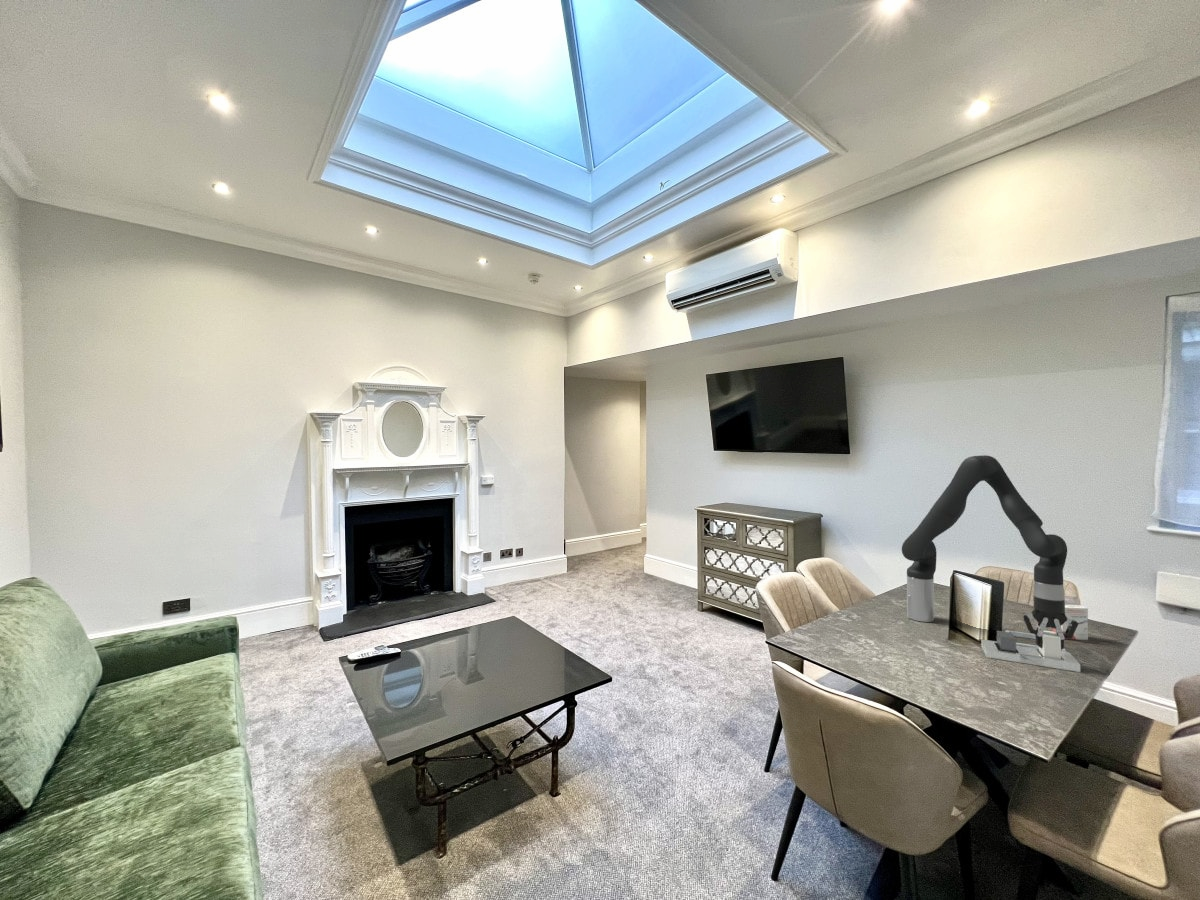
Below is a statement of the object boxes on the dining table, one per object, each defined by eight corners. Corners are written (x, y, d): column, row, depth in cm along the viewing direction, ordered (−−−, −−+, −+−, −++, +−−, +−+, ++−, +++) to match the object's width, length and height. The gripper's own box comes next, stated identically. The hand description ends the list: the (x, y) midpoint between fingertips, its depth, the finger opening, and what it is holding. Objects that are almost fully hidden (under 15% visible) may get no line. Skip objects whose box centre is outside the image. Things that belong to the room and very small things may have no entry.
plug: (1044, 657, 155) (1043, 635, 155) (1039, 650, 160) (1038, 629, 160) (1061, 660, 153) (1060, 638, 153) (1055, 653, 158) (1054, 631, 158)
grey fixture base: (986, 657, 161) (986, 636, 161) (981, 646, 170) (981, 626, 170) (1080, 672, 149) (1080, 649, 149) (1069, 659, 158) (1069, 638, 158)
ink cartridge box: (1063, 639, 174) (1062, 599, 174) (1051, 634, 179) (1051, 595, 179) (1089, 640, 173) (1088, 599, 173) (1076, 634, 178) (1076, 595, 178)
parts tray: (1014, 647, 168) (1014, 643, 168) (1005, 634, 180) (1005, 630, 180) (1066, 655, 162) (1066, 650, 162) (1053, 640, 173) (1053, 636, 173)
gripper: (1023, 596, 157) (1024, 648, 157) (1082, 602, 150) (1083, 657, 150) (1017, 590, 164) (1018, 640, 164) (1074, 595, 156) (1075, 648, 156)
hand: (1049, 648), depth 157 cm, fingers closed on plug, 4 cm apart
